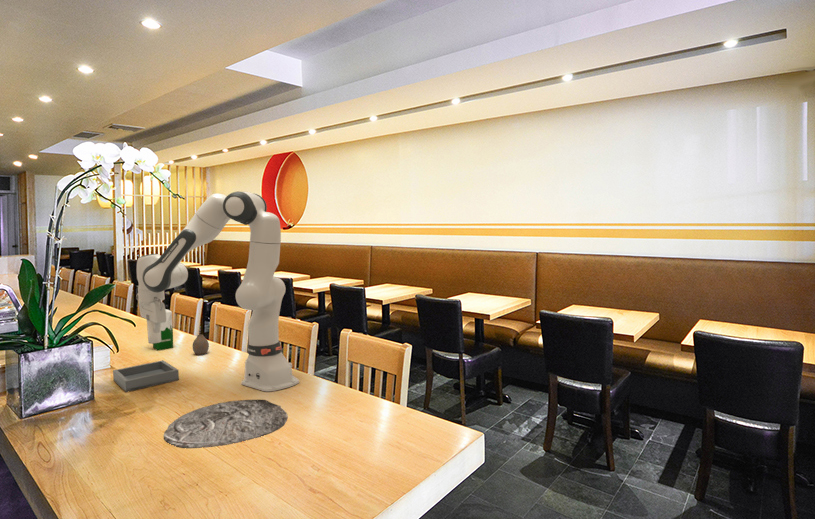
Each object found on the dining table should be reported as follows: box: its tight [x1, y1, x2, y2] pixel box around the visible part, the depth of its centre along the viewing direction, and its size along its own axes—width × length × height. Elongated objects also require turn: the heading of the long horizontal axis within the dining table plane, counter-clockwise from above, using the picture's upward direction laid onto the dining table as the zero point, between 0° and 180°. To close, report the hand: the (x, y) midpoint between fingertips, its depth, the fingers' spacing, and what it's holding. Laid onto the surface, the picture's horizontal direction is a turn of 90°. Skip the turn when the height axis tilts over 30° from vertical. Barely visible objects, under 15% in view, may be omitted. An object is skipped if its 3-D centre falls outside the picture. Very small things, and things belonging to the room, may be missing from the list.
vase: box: [192, 334, 210, 356], centre depth 218 cm, size 7×7×9 cm
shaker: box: [145, 314, 162, 345], centre depth 183 cm, size 5×5×11 cm
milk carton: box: [152, 308, 174, 351], centre depth 229 cm, size 9×9×20 cm
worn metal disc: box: [163, 399, 288, 449], centre depth 144 cm, size 33×35×1 cm
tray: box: [112, 360, 180, 393], centre depth 182 cm, size 18×18×4 cm
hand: (154, 331), depth 183 cm, fingers closed on shaker, 4 cm apart
